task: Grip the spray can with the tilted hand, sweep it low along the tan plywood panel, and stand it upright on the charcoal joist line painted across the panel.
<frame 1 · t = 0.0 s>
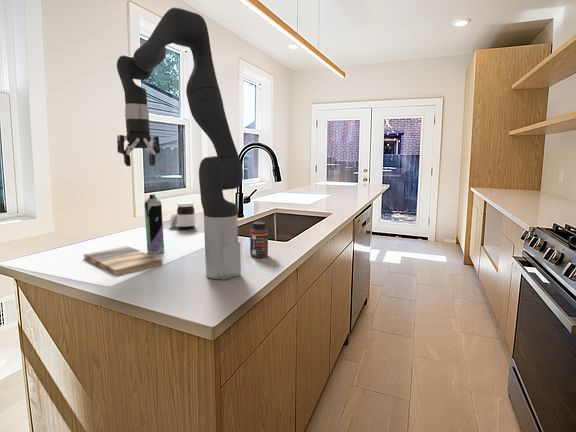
hand: (140, 165, 130), 29 cm above the counter, tool pointing down, fingers open, 8 cm apart
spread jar: (182, 228, 168), on the counter
plywood panel: (122, 261, 117), on the counter
supplement bottle: (259, 256, 124), on the counter
spray can: (155, 252, 129), on the counter
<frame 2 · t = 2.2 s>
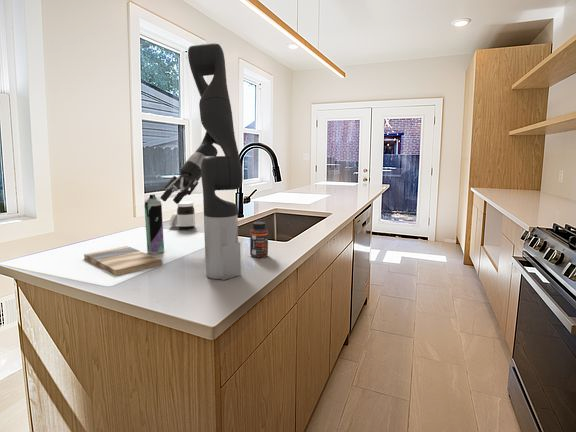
hand: (168, 201, 130), 17 cm above the counter, tool tilted 45°, fingers open, 8 cm apart
nothing on the counter moved.
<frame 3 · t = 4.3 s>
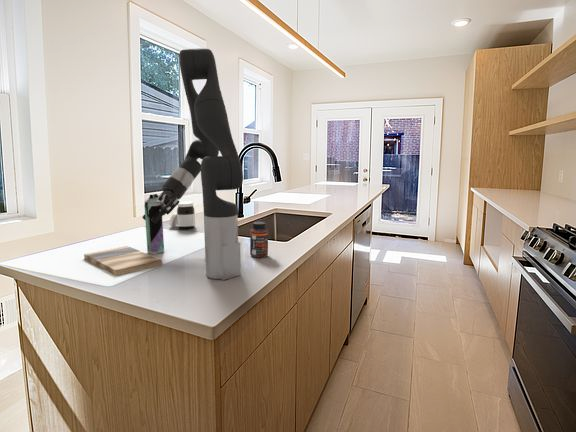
hand: (149, 220, 125), 11 cm above the counter, tool tilted 45°, fingers closed on spray can, 5 cm apart
spray can: (155, 252, 129), on the counter, touching gripper
everything else where it was.
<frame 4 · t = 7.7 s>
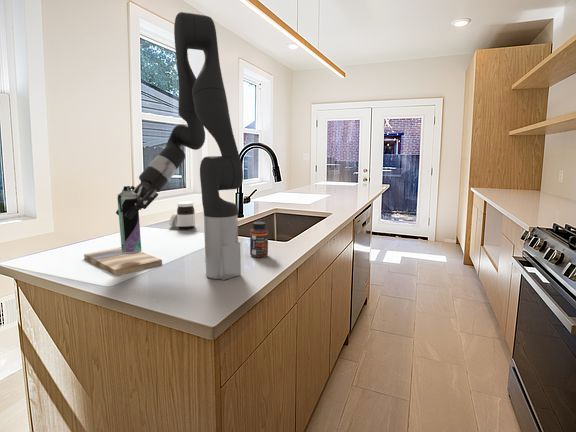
hand: (123, 216, 109), 16 cm above the counter, tool tilted 45°, fingers closed on spray can, 5 cm apart
spray can: (131, 252, 112), point 4 cm above the counter, touching gripper
everything else where it was.
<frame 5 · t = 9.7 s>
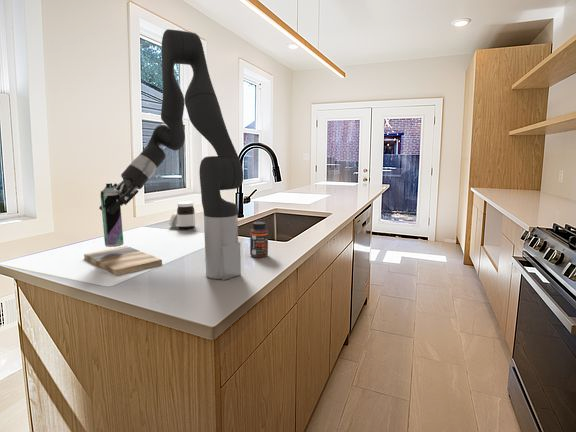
hand: (105, 211, 117), 16 cm above the counter, tool tilted 45°, fingers closed on spray can, 5 cm apart
spray can: (114, 245, 120), point 4 cm above the counter, touching gripper
everything else where it was.
when the fingers open (14 cm above the counter, at t = 11.3 s): spray can drops 1 cm, resting on plywood panel.
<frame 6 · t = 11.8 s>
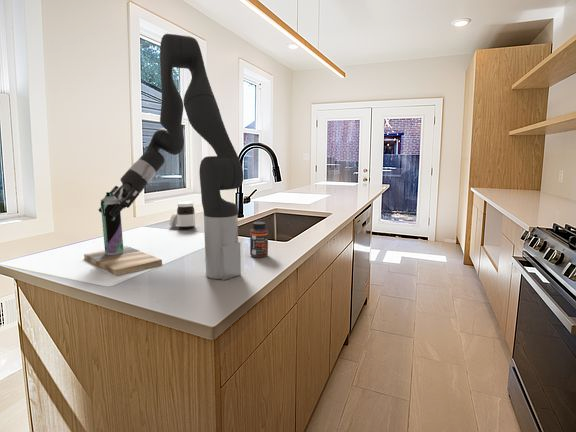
hand: (106, 214, 118), 15 cm above the counter, tool tilted 45°, fingers open, 8 cm apart
spray can: (114, 253, 121), point 1 cm above the counter, touching plywood panel
everything else where it was.
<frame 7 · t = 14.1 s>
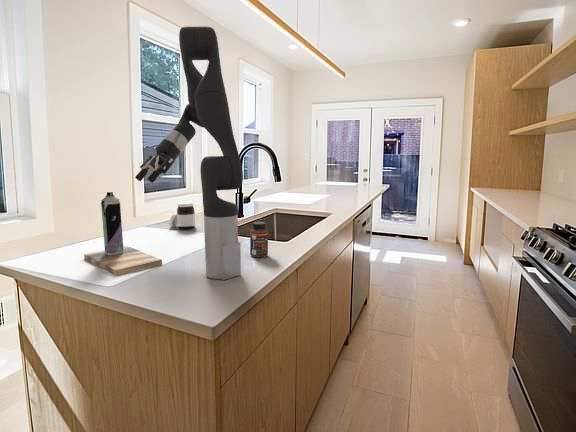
hand: (143, 180, 125), 25 cm above the counter, tool tilted 45°, fingers open, 8 cm apart
nothing on the counter moved.
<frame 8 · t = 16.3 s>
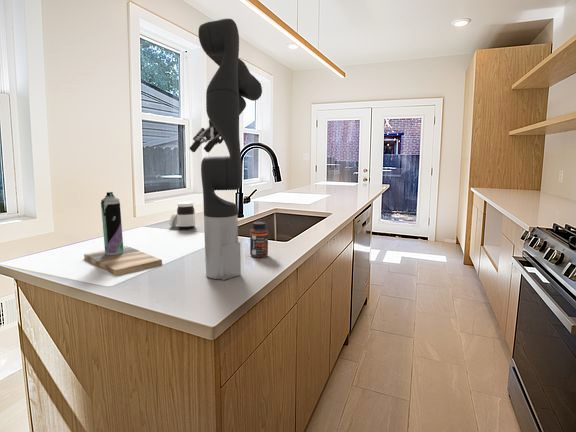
hand: (198, 150, 127), 35 cm above the counter, tool tilted 45°, fingers open, 8 cm apart
nothing on the counter moved.
at the end: spray can inside the target area on the plywood panel (0.2 cm from its centre), point 1.4 cm above the plywood panel's base; spray can tilted 0°; the gripper is holding nothing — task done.
